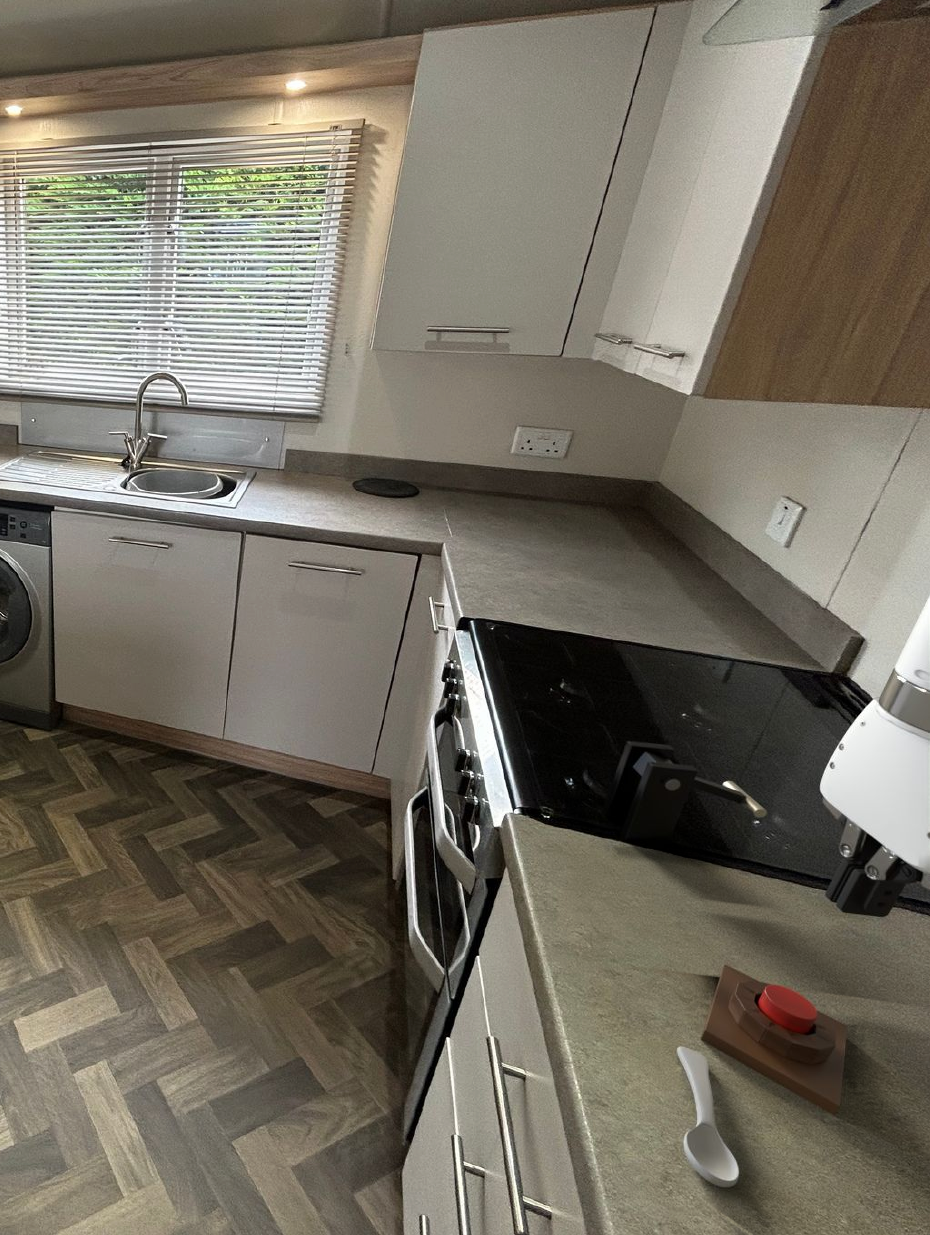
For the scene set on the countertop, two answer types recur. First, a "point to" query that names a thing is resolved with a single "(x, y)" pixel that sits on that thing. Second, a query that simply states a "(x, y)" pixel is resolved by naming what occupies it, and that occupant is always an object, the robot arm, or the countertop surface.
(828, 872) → the countertop surface
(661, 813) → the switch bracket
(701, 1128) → the spoon
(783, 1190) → the countertop surface
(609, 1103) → the countertop surface
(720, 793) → the switch lever
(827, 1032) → the control block
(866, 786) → the robot arm
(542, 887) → the countertop surface
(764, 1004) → the power button
